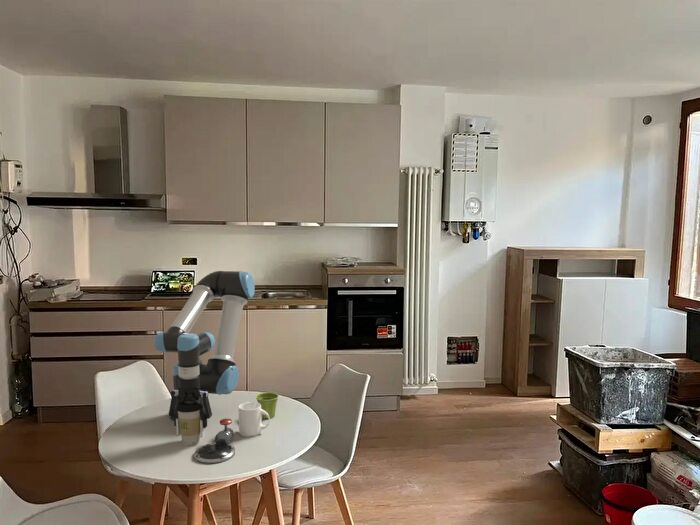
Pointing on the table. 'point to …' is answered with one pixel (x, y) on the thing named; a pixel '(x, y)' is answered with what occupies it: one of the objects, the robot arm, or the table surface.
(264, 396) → the plant pot
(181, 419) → the coffee cup
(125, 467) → the table surface
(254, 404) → the mug
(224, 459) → the metal device with knob
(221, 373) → the robot arm
